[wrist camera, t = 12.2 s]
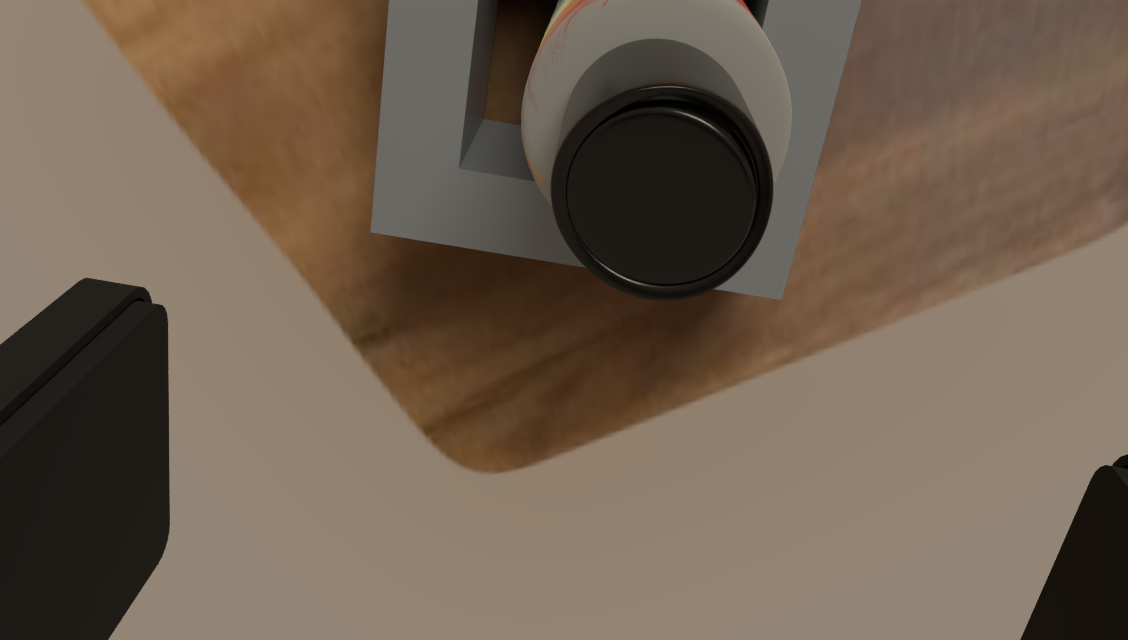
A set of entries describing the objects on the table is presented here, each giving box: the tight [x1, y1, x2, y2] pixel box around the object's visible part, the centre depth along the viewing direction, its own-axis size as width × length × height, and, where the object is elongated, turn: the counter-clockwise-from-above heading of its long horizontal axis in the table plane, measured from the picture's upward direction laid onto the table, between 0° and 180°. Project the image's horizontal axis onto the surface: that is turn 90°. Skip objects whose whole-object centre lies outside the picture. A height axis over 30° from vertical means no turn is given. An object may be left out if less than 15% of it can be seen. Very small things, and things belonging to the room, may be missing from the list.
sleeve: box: [371, 0, 862, 300], centre depth 33 cm, size 13×13×6 cm
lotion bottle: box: [521, 0, 792, 301], centre depth 27 cm, size 6×6×20 cm
